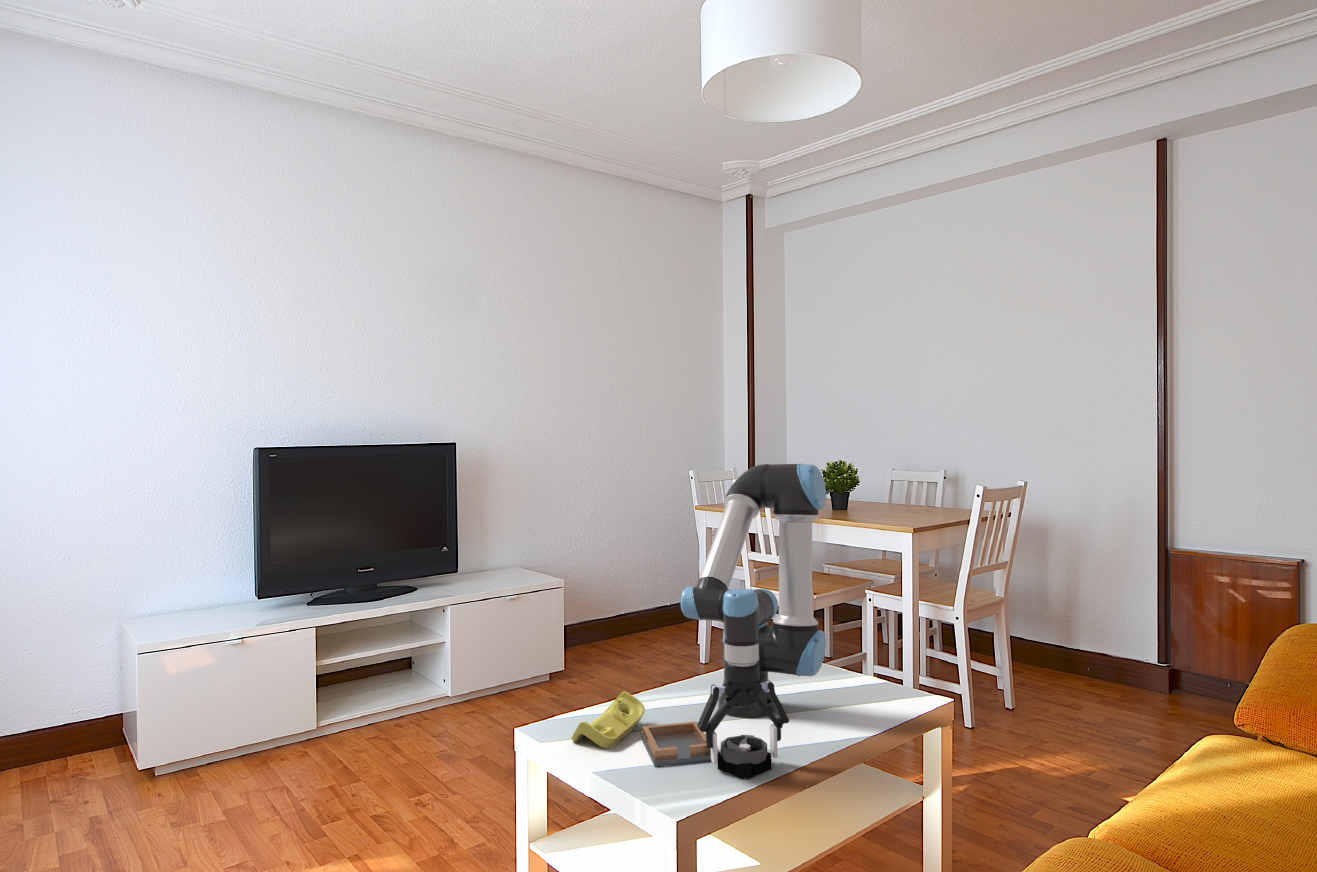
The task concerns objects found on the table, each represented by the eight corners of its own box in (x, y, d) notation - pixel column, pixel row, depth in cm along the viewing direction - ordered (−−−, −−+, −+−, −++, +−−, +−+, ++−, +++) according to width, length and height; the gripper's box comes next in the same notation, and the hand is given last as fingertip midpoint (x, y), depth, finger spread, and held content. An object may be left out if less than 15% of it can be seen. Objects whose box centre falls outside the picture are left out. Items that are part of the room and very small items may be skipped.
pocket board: (696, 731, 196) (696, 719, 196) (716, 760, 178) (715, 746, 178) (640, 736, 193) (640, 724, 193) (654, 766, 175) (654, 753, 175)
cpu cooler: (744, 756, 166) (710, 742, 174) (744, 783, 166) (711, 768, 174) (777, 742, 173) (743, 730, 181) (778, 769, 173) (744, 755, 181)
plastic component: (611, 741, 185) (577, 717, 189) (601, 767, 187) (568, 742, 191) (651, 708, 202) (620, 687, 206) (642, 732, 204) (611, 710, 208)
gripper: (789, 652, 180) (792, 746, 180) (682, 661, 175) (684, 757, 175) (802, 661, 173) (804, 759, 173) (690, 670, 168) (692, 771, 168)
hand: (744, 758), depth 174 cm, fingers open, 13 cm apart
